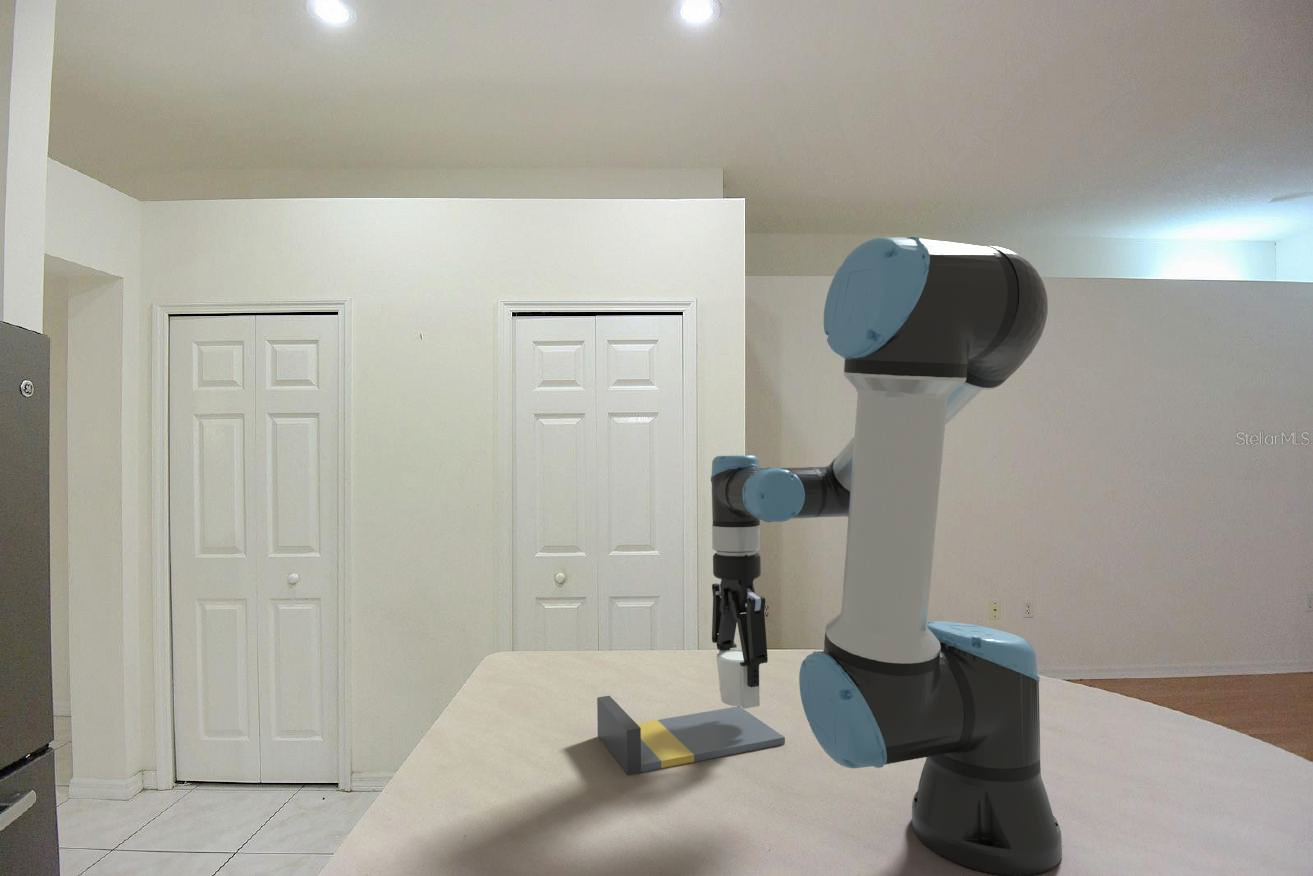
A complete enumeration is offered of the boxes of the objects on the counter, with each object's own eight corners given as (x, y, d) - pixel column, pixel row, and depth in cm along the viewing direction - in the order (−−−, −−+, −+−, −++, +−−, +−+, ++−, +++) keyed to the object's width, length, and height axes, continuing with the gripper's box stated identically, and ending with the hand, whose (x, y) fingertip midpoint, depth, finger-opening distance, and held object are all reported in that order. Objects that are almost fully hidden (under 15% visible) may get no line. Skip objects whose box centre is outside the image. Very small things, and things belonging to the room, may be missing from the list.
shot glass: (763, 707, 103) (762, 661, 103) (718, 708, 103) (717, 661, 104) (758, 692, 110) (757, 649, 110) (716, 692, 110) (715, 649, 110)
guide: (784, 744, 101) (784, 703, 101) (627, 775, 92) (626, 730, 92) (739, 712, 114) (738, 676, 114) (597, 736, 105) (597, 697, 105)
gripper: (790, 558, 99) (793, 717, 99) (729, 543, 118) (731, 677, 117) (745, 562, 97) (748, 724, 96) (689, 546, 115) (691, 682, 115)
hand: (739, 698), depth 107 cm, fingers closed on shot glass, 7 cm apart
